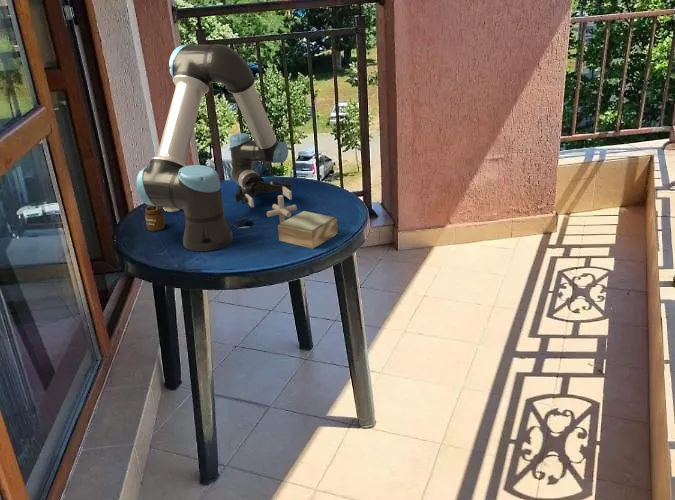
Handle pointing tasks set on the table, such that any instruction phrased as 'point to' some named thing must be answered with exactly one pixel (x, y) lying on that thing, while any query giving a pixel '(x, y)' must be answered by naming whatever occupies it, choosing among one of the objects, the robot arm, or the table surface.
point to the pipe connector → (281, 209)
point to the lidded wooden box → (307, 229)
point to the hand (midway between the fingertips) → (271, 199)
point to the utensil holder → (154, 218)
